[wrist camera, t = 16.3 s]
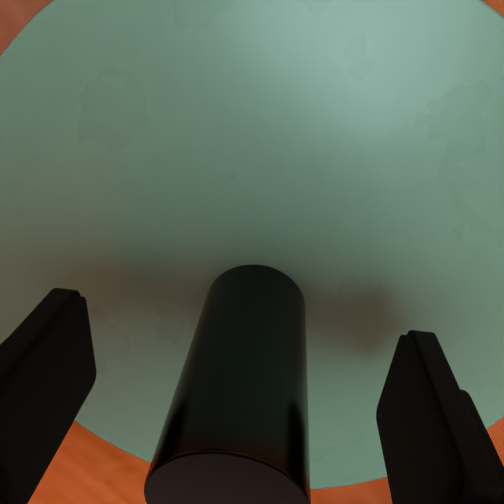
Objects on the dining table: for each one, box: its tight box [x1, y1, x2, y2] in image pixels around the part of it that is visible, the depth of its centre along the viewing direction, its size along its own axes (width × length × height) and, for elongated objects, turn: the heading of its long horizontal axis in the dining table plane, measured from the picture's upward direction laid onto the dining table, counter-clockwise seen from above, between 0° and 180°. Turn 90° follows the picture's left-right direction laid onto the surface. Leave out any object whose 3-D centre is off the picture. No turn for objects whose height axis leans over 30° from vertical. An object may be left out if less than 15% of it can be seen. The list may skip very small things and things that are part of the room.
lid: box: [0, 0, 504, 504], centre depth 11 cm, size 18×18×7 cm
